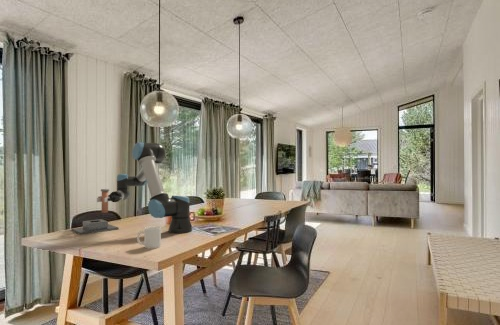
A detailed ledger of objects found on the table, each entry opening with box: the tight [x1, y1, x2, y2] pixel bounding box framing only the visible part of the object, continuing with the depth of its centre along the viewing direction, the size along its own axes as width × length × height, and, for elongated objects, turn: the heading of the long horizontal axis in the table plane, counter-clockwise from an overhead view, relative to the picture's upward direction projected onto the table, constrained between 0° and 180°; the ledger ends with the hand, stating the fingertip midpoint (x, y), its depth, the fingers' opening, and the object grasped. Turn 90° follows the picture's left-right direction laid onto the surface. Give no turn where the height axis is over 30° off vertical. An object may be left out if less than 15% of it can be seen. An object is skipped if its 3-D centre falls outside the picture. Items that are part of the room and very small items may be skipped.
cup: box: [136, 225, 162, 250], centre depth 171 cm, size 8×12×10 cm
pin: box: [100, 188, 110, 214], centre depth 213 cm, size 5×5×15 cm
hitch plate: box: [70, 219, 119, 236], centre depth 217 cm, size 24×18×6 cm
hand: (101, 200), depth 207 cm, fingers closed on pin, 4 cm apart
